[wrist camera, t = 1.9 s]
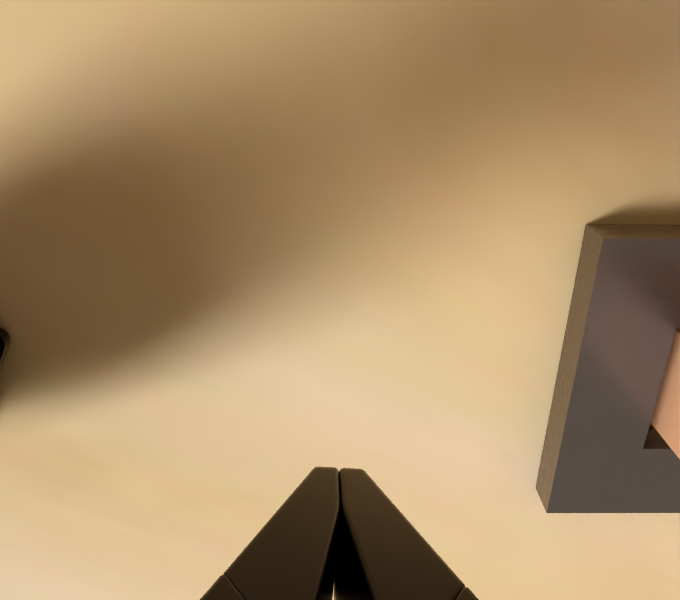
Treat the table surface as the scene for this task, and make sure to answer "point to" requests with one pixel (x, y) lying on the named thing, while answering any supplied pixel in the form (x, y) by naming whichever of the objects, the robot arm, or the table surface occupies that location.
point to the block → (670, 399)
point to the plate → (615, 377)
